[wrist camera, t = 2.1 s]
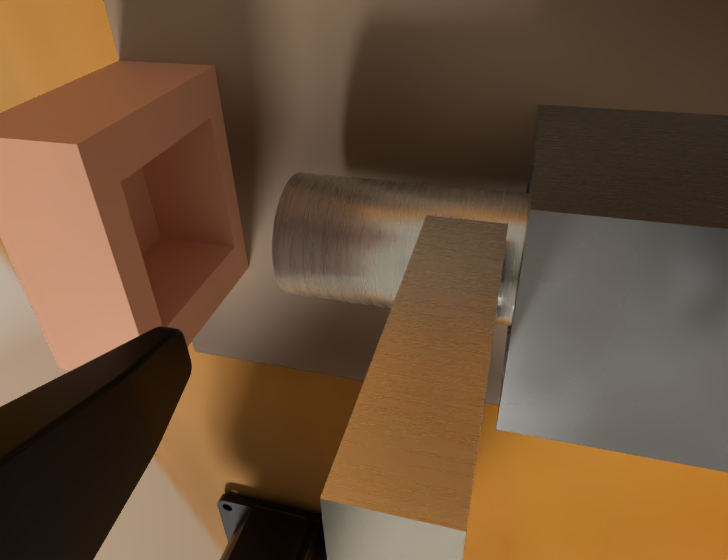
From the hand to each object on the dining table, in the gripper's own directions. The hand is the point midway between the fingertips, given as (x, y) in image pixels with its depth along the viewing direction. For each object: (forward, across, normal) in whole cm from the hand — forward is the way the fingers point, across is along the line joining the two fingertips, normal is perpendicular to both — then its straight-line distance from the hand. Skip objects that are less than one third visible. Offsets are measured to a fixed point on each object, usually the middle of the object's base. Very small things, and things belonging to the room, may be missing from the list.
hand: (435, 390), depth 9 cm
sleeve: (+8, -4, 0) cm, 9 cm away
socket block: (+8, +8, 0) cm, 11 cm away
